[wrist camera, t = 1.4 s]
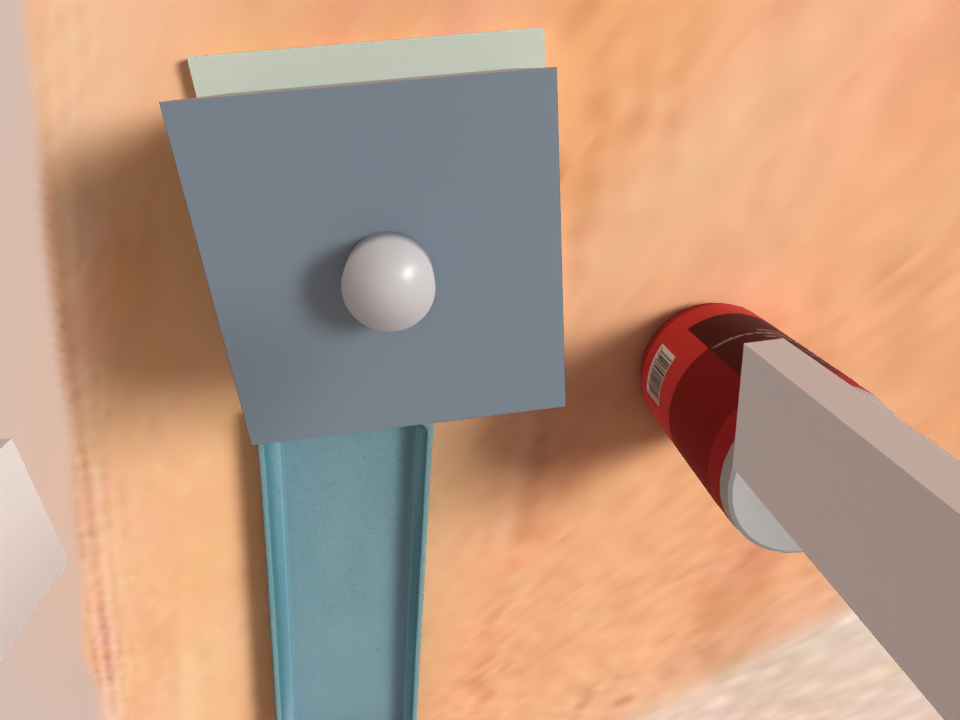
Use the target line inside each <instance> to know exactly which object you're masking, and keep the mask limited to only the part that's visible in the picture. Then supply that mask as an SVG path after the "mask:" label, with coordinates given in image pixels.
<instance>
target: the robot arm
mask: <svg viewBox="0 0 960 720" xmlns="http://www.w3.org/2000/svg"><path fill="white" fill-rule="evenodd" d="M732 467H733V468H734V469H735V471H736V472H737V473H738V474H739V475H740V477H741V478H742V479H743V480H744V481H745V483H746V484H747V485H748V486H749V487H750V488H751V490H752V491H753V492H754V493H755V494H756V496H757V497H758V498H759V499H760V500H761V502H762V503H763V504H764V505H765V506H766V508H767V509H768V510H769V511H770V512H771V514H772V515H773V516H774V517H775V518H776V520H777V521H778V522H779V523H780V524H781V525H782V527H783V528H784V529H785V530H786V531H787V533H788V534H789V535H790V536H791V537H792V539H793V540H794V541H795V542H796V543H797V545H798V546H799V547H800V548H801V549H802V551H803V552H804V553H805V554H806V555H807V557H808V558H809V559H810V560H811V561H812V562H813V564H814V565H815V566H816V567H817V568H818V570H819V571H820V572H821V573H822V574H823V576H824V577H825V578H826V579H827V580H828V582H829V583H830V584H831V585H832V586H833V588H834V589H835V590H836V591H837V592H838V594H839V595H840V596H841V597H842V598H843V599H844V601H845V602H846V603H847V604H848V605H849V607H850V608H851V609H852V610H853V611H854V613H855V614H856V615H857V616H858V617H859V619H860V620H861V621H862V622H863V623H864V625H865V626H866V627H867V628H868V629H869V630H870V632H871V633H872V634H873V635H874V636H875V638H876V639H877V640H878V641H879V642H880V644H881V645H882V646H883V647H884V648H885V650H886V651H887V652H888V653H889V654H890V656H891V657H892V658H893V659H894V660H895V662H896V663H897V664H898V665H899V666H900V667H901V669H902V670H903V671H904V672H905V673H906V675H907V676H908V677H909V678H910V679H911V681H912V682H913V683H914V684H915V685H916V687H917V688H918V689H919V690H920V691H921V693H922V694H923V695H924V696H925V697H926V699H927V700H928V701H929V702H930V703H931V704H932V706H933V707H934V708H935V709H936V710H937V712H938V713H939V714H940V715H941V716H942V718H943V719H944V720H960V461H959V460H958V459H956V458H955V457H953V456H952V455H950V454H949V453H947V452H946V451H945V450H943V449H942V448H940V447H939V446H937V445H936V444H935V443H933V442H932V441H930V440H929V439H927V438H926V437H925V436H923V435H922V434H920V433H919V432H917V431H916V430H914V429H913V428H912V427H910V426H909V425H907V424H906V423H904V422H903V421H902V420H900V419H899V418H897V417H896V416H894V415H893V414H891V413H890V412H889V411H887V410H886V409H884V408H883V407H881V406H880V405H879V404H877V403H876V402H874V401H873V400H871V399H870V398H869V397H867V396H866V395H864V394H863V393H861V392H860V391H858V390H857V389H856V388H854V387H853V386H851V385H850V384H848V383H847V382H846V381H844V380H843V379H841V378H840V377H838V376H837V375H836V374H834V373H833V372H831V371H830V370H828V369H827V368H825V367H824V366H823V365H821V364H820V363H818V362H817V361H815V360H814V359H813V358H811V357H810V356H808V355H807V354H805V353H804V352H802V351H801V350H800V349H798V348H797V347H795V346H794V345H792V344H791V343H790V342H788V341H787V340H785V339H784V338H781V339H774V340H766V341H758V342H751V343H744V348H743V359H742V370H741V380H740V391H739V402H738V413H737V423H736V434H735V445H734V455H733V466H732ZM68 562H69V560H68V558H67V556H66V554H65V551H64V549H63V547H62V545H61V543H60V540H59V538H58V536H57V534H56V532H55V530H54V528H53V525H52V523H51V521H50V519H49V517H48V515H47V513H46V510H45V508H44V506H43V504H42V502H41V500H40V497H39V495H38V493H37V491H36V489H35V487H34V484H33V482H32V480H31V478H30V476H29V474H28V471H27V469H26V467H25V465H24V463H23V461H22V459H21V456H20V454H19V452H18V450H17V448H16V446H15V443H14V441H13V439H12V438H9V439H1V440H0V662H1V661H2V659H3V658H4V656H5V655H6V653H7V652H8V650H9V649H10V647H11V646H12V644H13V643H14V641H15V640H16V638H17V637H18V635H19V634H20V633H21V631H22V630H23V628H24V627H25V625H26V624H27V622H28V621H29V619H30V618H31V616H32V615H33V614H34V612H35V611H36V609H37V608H38V606H39V605H40V603H41V602H42V600H43V599H44V597H45V596H46V594H47V593H48V592H49V590H50V589H51V587H52V586H53V584H54V583H55V581H56V580H57V578H58V577H59V575H60V574H61V572H62V571H63V569H64V568H65V567H66V565H67V564H68Z"/></svg>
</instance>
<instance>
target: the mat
mask: <svg viewBox="0 0 960 720" xmlns="http://www.w3.org/2000/svg"><path fill="white" fill-rule="evenodd" d="M187 60H188V64H189V69H190V73H191V77H192V81H193V85H194V89H195V93H196V97H205V96H213V95H221V94H228V93H238V92H249V91H261V90H272V89H284V88H295V87H306V86H318V85H329V84H341V83H352V82H363V81H375V80H386V79H398V78H409V77H420V76H432V75H443V74H454V73H466V72H477V71H489V70H500V69H511V68H545V39H544V27H539V28H527V29H515V30H504V31H492V32H480V33H468V34H456V35H444V36H432V37H420V38H408V39H396V40H384V41H372V42H360V43H348V44H336V45H324V46H312V47H300V48H288V49H276V50H264V51H253V52H241V53H229V54H217V55H205V56H193V57H187Z"/></svg>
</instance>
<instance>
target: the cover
mask: <svg viewBox="0 0 960 720" xmlns="http://www.w3.org/2000/svg"><path fill="white" fill-rule="evenodd" d="M159 104H160V107H161V111H162V115H163V118H164V122H165V126H166V130H167V133H168V137H169V141H170V144H171V148H172V152H173V155H174V159H175V163H176V167H177V170H178V174H179V178H180V181H181V185H182V189H183V193H184V196H185V200H186V204H187V207H188V211H189V215H190V218H191V222H192V226H193V230H194V233H195V237H196V241H197V244H198V248H199V252H200V256H201V259H202V263H203V267H204V270H205V274H206V278H207V282H208V285H209V289H210V293H211V296H212V300H213V304H214V307H215V311H216V315H217V319H218V322H219V326H220V330H221V333H222V337H223V341H224V345H225V348H226V352H227V356H228V359H229V363H230V367H231V370H232V374H233V378H234V382H235V385H236V389H237V393H238V396H239V400H240V404H241V408H242V411H243V415H244V419H245V422H246V426H247V430H248V434H249V437H250V441H251V445H260V444H268V443H276V442H284V441H292V440H300V439H308V438H316V437H324V436H332V435H340V434H348V433H357V432H365V431H373V430H381V429H389V428H397V427H405V426H413V425H421V424H429V423H437V422H445V421H453V420H461V419H469V418H477V417H485V416H493V415H501V414H509V413H517V412H525V411H533V410H541V409H549V408H557V407H565V406H566V404H565V365H564V326H563V288H562V249H561V210H560V171H559V133H558V94H557V67H547V68H511V69H500V70H489V71H477V72H466V73H454V74H443V75H432V76H420V77H409V78H398V79H386V80H375V81H363V82H352V83H341V84H329V85H318V86H306V87H295V88H284V89H272V90H261V91H249V92H238V93H228V94H221V95H213V96H205V97H197V98H189V99H181V100H173V101H165V102H159Z"/></svg>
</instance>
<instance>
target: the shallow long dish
mask: <svg viewBox="0 0 960 720" xmlns="http://www.w3.org/2000/svg"><path fill="white" fill-rule="evenodd" d="M432 440H433V425H432V423H429V424H421V425H413V426H405V427H397V428H389V429H381V430H373V431H365V432H357V433H348V434H340V435H332V436H324V437H316V438H308V439H300V440H292V441H284V442H276V443H268V444H260V445H258V455H259V467H260V481H261V496H262V512H263V526H264V540H265V555H266V571H267V586H268V602H269V620H270V635H271V652H272V665H273V680H274V697H275V713H276V720H417V706H418V686H419V664H420V647H421V628H422V612H423V596H424V593H423V591H424V577H425V559H426V543H427V524H428V509H429V490H430V471H431V454H432Z"/></svg>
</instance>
